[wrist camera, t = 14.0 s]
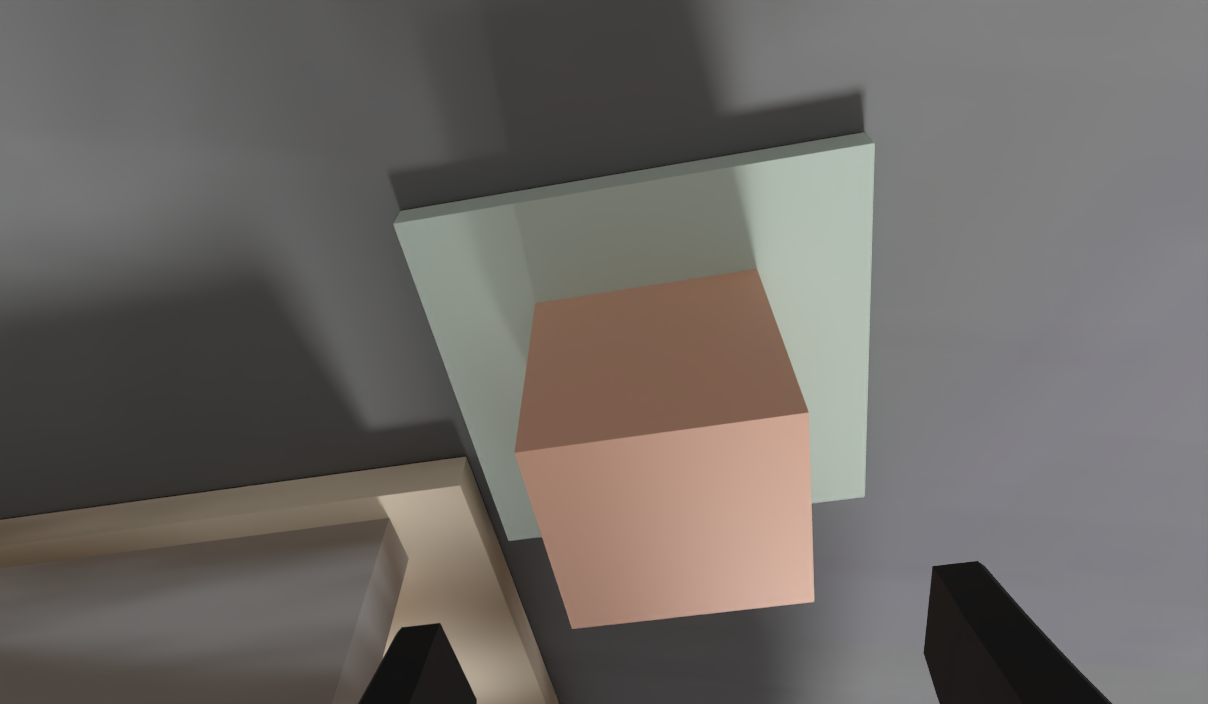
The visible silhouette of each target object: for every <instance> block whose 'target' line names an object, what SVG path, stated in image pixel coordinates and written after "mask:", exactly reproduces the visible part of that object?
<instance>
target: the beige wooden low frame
mask: <svg viewBox="0 0 1208 704" xmlns="http://www.w3.org/2000/svg"><path fill="white" fill-rule="evenodd" d="M435 623H441V625H442V628H443V630H444V632H445V634H446V636H447V638H448V640H449V642H450V644H451V646H452V649H453V651H454V653H455V655H456V657H457V659H458V661H459V663H460V665H461V667H462V670H463V672H464V674H465V676H466V678H467V680H468V682H469V684H470V686H471V688H472V691H473V693H474V695H475V697H476V699H477V704H559V702H558V699H557V696H556V694H555V691H554V688H553V686H552V683H551V680H550V678H549V675H548V672H547V670H546V667H545V664H544V662H543V659H542V656H541V654H540V651H539V648H538V646H537V643H536V640H535V638H534V635H533V632H532V630H531V627H530V624H529V622H528V619H527V616H526V614H525V611H524V609H523V606H522V603H521V601H520V598H519V595H518V593H517V590H516V587H515V585H514V582H513V579H512V577H511V574H510V571H509V569H508V566H507V563H506V561H505V558H504V555H503V553H502V550H501V547H500V545H499V542H498V539H497V537H496V534H495V531H494V529H493V526H492V523H491V521H490V518H489V515H488V513H487V510H486V507H485V505H484V502H483V499H482V497H481V494H480V491H479V489H478V486H477V483H476V481H475V478H474V475H473V473H472V470H471V467H470V465H469V462H468V459H467V457H459V458H452V459H444V460H437V461H430V462H422V463H415V464H408V465H400V466H393V467H386V468H378V469H371V470H363V471H356V472H349V473H341V474H334V475H327V476H319V477H312V478H305V479H297V480H290V481H283V482H275V483H268V484H261V485H253V486H246V487H239V488H231V489H224V490H217V491H209V492H202V493H194V494H187V495H180V496H172V497H165V498H158V499H150V500H143V501H136V502H128V503H121V504H114V505H106V506H99V507H92V508H84V509H77V510H70V511H62V512H55V513H48V514H40V515H33V516H25V517H18V518H11V519H3V520H0V704H358V703H359V701H360V699H361V697H362V695H363V694H364V692H365V690H366V688H367V686H368V685H369V683H370V681H371V679H372V677H373V676H374V674H375V672H376V670H377V668H378V666H379V665H380V663H381V661H382V659H383V657H384V656H385V654H386V652H387V650H388V648H389V646H390V644H391V643H392V641H393V639H394V637H395V635H396V633H397V632H398V631H399V630H400V629H401V627H409V626H418V625H426V624H435Z"/></svg>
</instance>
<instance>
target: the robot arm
mask: <svg viewBox="0 0 1208 704" xmlns="http://www.w3.org/2000/svg"><path fill="white" fill-rule="evenodd" d="M924 655H925V659H926V662H927V665H928V668H929V671H930V675H931V678H932V681H933V684H934V687H935V691H936V694H937V697H938V700H939V703H940V704H1112V703H1111V702H1110V701H1109V700H1108V699H1107V698H1106V697H1105V696H1104V695H1103V694H1102V693H1101V692H1100V691H1099V690H1098V689H1097V688H1096V687H1095V686H1094V685H1093V684H1092V683H1091V682H1090V681H1089V680H1088V679H1087V678H1086V677H1085V676H1084V675H1083V674H1082V673H1081V672H1080V671H1079V670H1078V669H1077V668H1076V667H1075V666H1074V665H1073V664H1072V663H1071V661H1070V660H1069V659H1068V658H1067V657H1066V656H1065V655H1064V654H1063V653H1062V652H1061V651H1060V650H1059V649H1058V648H1057V647H1056V646H1055V645H1054V643H1053V642H1052V641H1051V640H1050V639H1049V638H1048V637H1047V636H1046V635H1045V634H1044V633H1043V632H1042V630H1041V629H1040V628H1039V627H1038V626H1037V625H1036V624H1035V623H1034V622H1033V621H1032V620H1031V618H1030V617H1029V616H1028V615H1027V614H1026V613H1025V612H1024V611H1023V610H1022V608H1021V607H1020V606H1019V605H1018V604H1017V603H1016V602H1015V601H1014V599H1013V598H1012V597H1011V596H1010V595H1009V594H1008V593H1007V591H1006V590H1005V589H1004V588H1003V587H1002V586H1001V585H1000V583H999V582H998V581H997V580H996V579H995V578H994V577H993V575H992V574H991V573H990V572H989V571H988V569H987V568H986V567H985V566H984V565H982V564H981V563H979V562H978V561H974V562H966V563H957V564H948V565H940V566H933V568H932V578H931V588H930V597H929V607H928V617H927V626H926V636H925V646H924ZM358 704H477V699H476V697H475V695H474V693H473V691H472V688H471V686H470V684H469V682H468V680H467V678H466V676H465V674H464V672H463V670H462V667H461V665H460V663H459V661H458V659H457V657H456V655H455V653H454V651H453V649H452V646H451V644H450V642H449V640H448V638H447V636H446V634H445V632H444V630H443V628H442V625H441V623H435V624H426V625H418V626H409V627H401V629H400V630H399V631H398V632H397V633H396V635H395V637H394V639H393V641H392V643H391V644H390V646H389V648H388V650H387V652H386V654H385V656H384V657H383V659H382V661H381V663H380V665H379V666H378V668H377V670H376V672H375V674H374V676H373V677H372V679H371V681H370V683H369V685H368V686H367V688H366V690H365V692H364V694H363V695H362V697H361V699H360V701H359V703H358Z"/></svg>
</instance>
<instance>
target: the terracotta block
mask: <svg viewBox="0 0 1208 704" xmlns="http://www.w3.org/2000/svg"><path fill="white" fill-rule="evenodd" d="M514 453H515V456H516V459H517V462H518V465H519V468H520V471H521V474H522V477H523V481H524V484H525V487H526V490H527V493H528V496H529V499H530V502H531V505H532V508H533V511H534V514H535V517H536V520H537V523H538V526H539V529H540V532H541V536H542V539H543V542H544V545H545V548H546V551H547V554H548V557H549V560H550V563H551V566H552V569H553V572H554V575H555V578H556V581H557V584H558V587H559V591H560V594H561V597H562V600H563V603H564V606H565V609H566V612H567V615H568V618H569V621H570V624H571V627H572V629H578V628H587V627H596V626H604V625H613V624H622V623H631V622H640V621H649V620H658V619H667V618H675V617H684V616H693V615H702V614H711V613H720V612H729V611H738V610H747V609H755V608H764V607H773V606H782V605H791V604H800V603H809V602H814V571H813V537H812V503H811V469H810V435H809V412H808V409H807V406H806V403H805V400H804V398H803V395H802V392H801V389H800V387H799V384H798V381H797V378H796V376H795V373H794V370H793V367H792V364H791V362H790V359H789V356H788V353H787V351H786V348H785V345H784V342H783V339H782V337H781V334H780V331H779V328H778V326H777V323H776V320H775V317H774V314H773V312H772V309H771V306H770V303H769V301H768V298H767V295H766V292H765V289H764V287H763V284H762V281H761V278H760V276H759V273H758V270H757V269H753V270H746V271H740V272H733V273H727V274H720V275H714V276H708V277H701V278H695V279H688V280H682V281H676V282H669V283H663V284H656V285H650V286H643V287H637V288H631V289H624V290H618V291H611V292H605V293H598V294H592V295H586V296H579V297H573V298H566V299H560V300H554V301H547V302H541V303H535V309H534V316H533V323H532V331H531V338H530V345H529V352H528V359H527V366H526V374H525V381H524V388H523V395H522V402H521V409H520V416H519V424H518V431H517V438H516V445H515V452H514Z"/></svg>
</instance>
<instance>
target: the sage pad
mask: <svg viewBox="0 0 1208 704" xmlns="http://www.w3.org/2000/svg"><path fill="white" fill-rule="evenodd" d="M874 152H875V143H874V142H873V140H872V139H871V138H870V137H869V136H868V135H867V134H866V133H865V132H863V133H857V134H851V135H845V136H839V137H833V138H828V139H822V140H816V141H810V142H804V143H798V144H792V145H786V146H780V147H774V148H769V149H763V150H757V151H751V152H745V153H739V154H733V155H727V156H721V157H716V158H710V159H704V160H698V161H692V162H686V163H680V164H674V165H668V166H663V167H657V168H651V169H645V170H639V171H633V172H627V173H621V174H615V175H610V176H604V177H598V178H592V179H586V180H580V181H574V182H568V183H562V184H557V185H551V186H545V187H539V188H533V189H527V190H521V191H515V192H509V193H503V194H498V195H492V196H486V197H480V198H474V199H468V200H462V201H456V202H450V203H445V204H439V205H433V206H427V207H421V208H415V209H409V210H403V211H400V212H399V214H398V216H397V218H396V220H395V221H394V223H393V225H394V228H395V231H396V233H397V236H398V239H399V242H400V244H401V247H402V250H403V253H404V255H405V258H406V261H407V264H408V266H409V269H410V272H411V275H412V277H413V280H414V283H415V286H416V288H417V291H418V294H419V296H420V299H421V302H422V305H423V307H424V310H425V313H426V316H427V318H428V321H429V324H430V327H431V329H432V332H433V335H434V338H435V340H436V343H437V346H438V349H439V351H440V354H441V357H442V360H443V362H444V365H445V368H446V371H447V373H448V376H449V379H450V382H451V384H452V387H453V390H454V393H455V395H456V398H457V401H458V404H459V406H460V409H461V412H462V415H463V417H464V420H465V423H466V426H467V428H468V431H469V434H470V437H471V439H472V442H473V445H474V448H475V450H476V453H477V456H478V459H479V461H480V464H481V467H482V470H483V472H484V475H485V478H486V481H487V483H488V486H489V489H490V492H491V494H492V497H493V500H494V503H495V505H496V508H497V511H498V513H499V516H500V519H501V522H502V524H503V527H504V530H505V533H506V535H507V538H508V541H514V540H522V539H530V538H538V537H542V536H541V532H540V529H539V526H538V523H537V520H536V517H535V514H534V511H533V508H532V505H531V502H530V499H529V496H528V493H527V490H526V487H525V484H524V481H523V477H522V474H521V471H520V468H519V465H518V462H517V459H516V456H515V453H514V452H515V445H516V438H517V431H518V424H519V416H520V409H521V402H522V395H523V388H524V381H525V374H526V366H527V359H528V352H529V345H530V338H531V331H532V323H533V316H534V309H535V303H541V302H547V301H554V300H560V299H566V298H573V297H579V296H586V295H592V294H598V293H605V292H611V291H618V290H624V289H631V288H637V287H643V286H650V285H656V284H663V283H669V282H676V281H682V280H688V279H695V278H701V277H708V276H714V275H720V274H727V273H733V272H740V271H746V270H753V269H757V270H758V273H759V276H760V278H761V281H762V284H763V287H764V289H765V292H766V295H767V298H768V301H769V303H770V306H771V309H772V312H773V314H774V317H775V320H776V323H777V326H778V328H779V331H780V334H781V337H782V339H783V342H784V345H785V348H786V351H787V353H788V356H789V359H790V362H791V364H792V367H793V370H794V373H795V376H796V378H797V381H798V384H799V387H800V389H801V392H802V395H803V398H804V400H805V403H806V406H807V409H808V412H809V435H810V469H811V503H819V502H827V501H835V500H843V499H851V498H859V497H865V468H866V433H867V398H868V363H869V328H870V293H871V257H872V222H873V187H874Z"/></svg>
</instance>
